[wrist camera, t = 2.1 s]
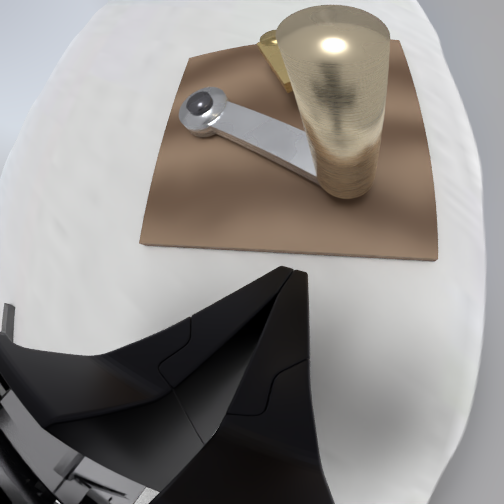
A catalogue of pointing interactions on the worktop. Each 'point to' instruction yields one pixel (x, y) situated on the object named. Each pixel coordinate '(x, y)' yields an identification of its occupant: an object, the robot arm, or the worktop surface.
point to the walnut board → (289, 176)
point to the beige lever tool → (315, 101)
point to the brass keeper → (274, 58)
